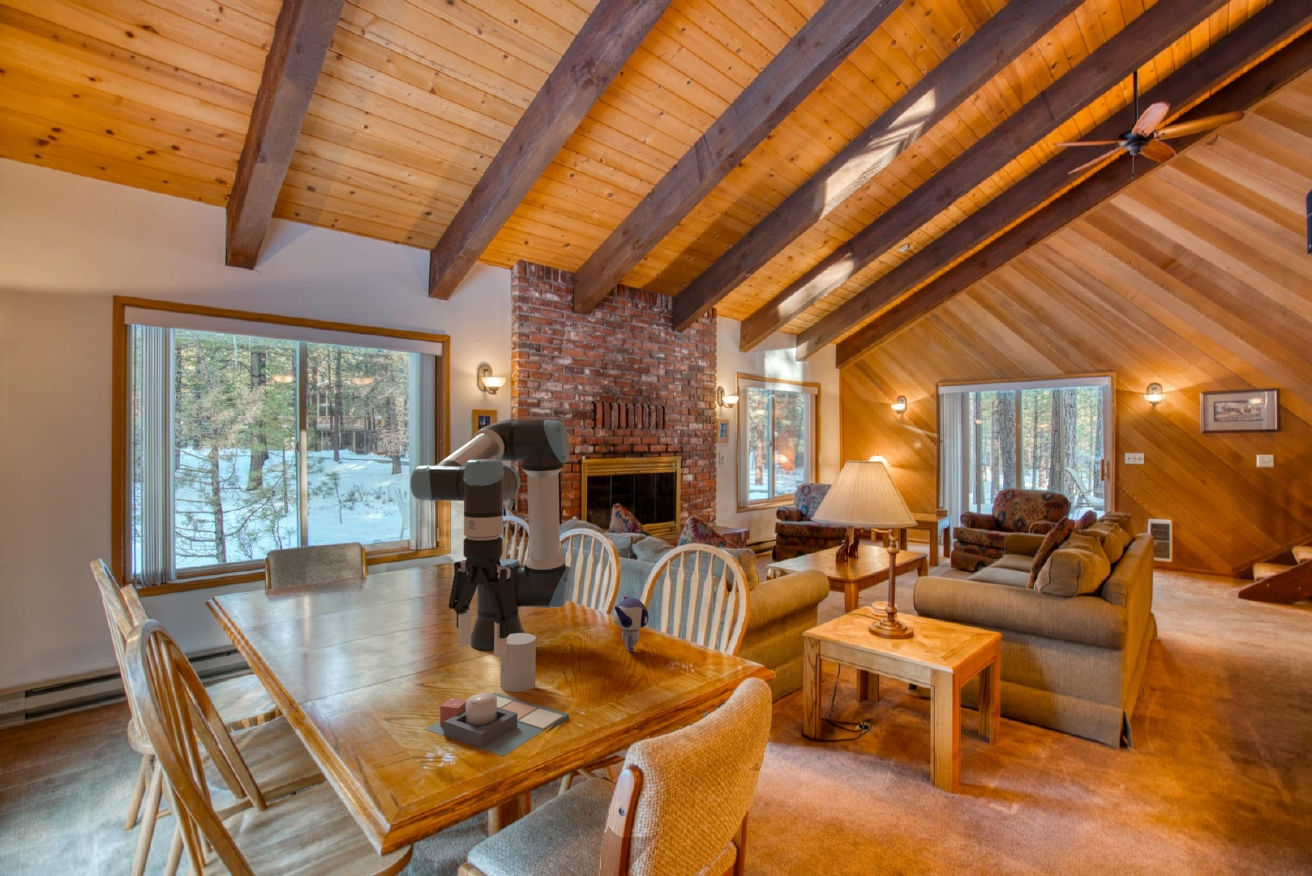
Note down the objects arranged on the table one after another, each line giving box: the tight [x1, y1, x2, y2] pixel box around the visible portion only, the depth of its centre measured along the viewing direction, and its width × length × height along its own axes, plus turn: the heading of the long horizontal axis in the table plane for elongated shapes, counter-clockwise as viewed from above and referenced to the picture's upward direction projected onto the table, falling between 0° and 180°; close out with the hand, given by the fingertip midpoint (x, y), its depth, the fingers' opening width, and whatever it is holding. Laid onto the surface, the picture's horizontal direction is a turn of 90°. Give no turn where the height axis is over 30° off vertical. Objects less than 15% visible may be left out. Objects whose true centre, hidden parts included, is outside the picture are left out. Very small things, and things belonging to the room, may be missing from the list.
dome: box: [465, 692, 497, 727], centre depth 124 cm, size 6×6×4 cm
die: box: [439, 697, 467, 726], centre depth 127 cm, size 4×4×4 cm
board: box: [424, 692, 570, 757], centre depth 128 cm, size 21×20×4 cm
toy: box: [612, 596, 650, 653], centre depth 172 cm, size 11×10×15 cm
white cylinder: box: [499, 632, 537, 693], centre depth 146 cm, size 8×8×12 cm
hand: (482, 649), depth 124 cm, fingers open, 9 cm apart
